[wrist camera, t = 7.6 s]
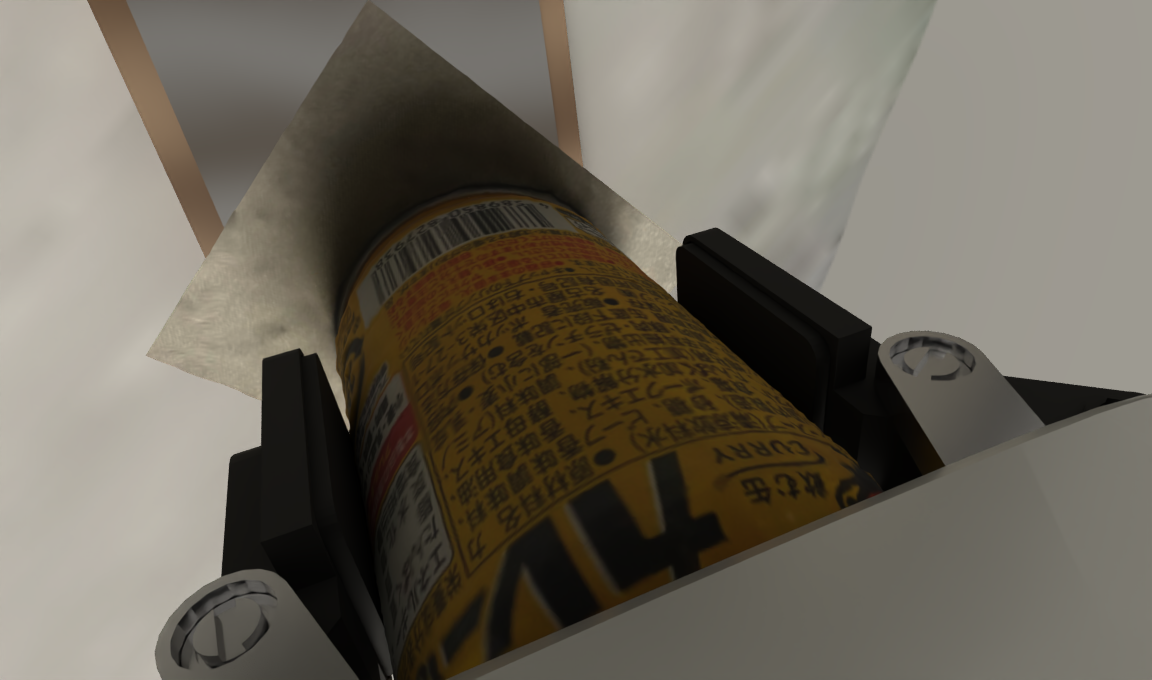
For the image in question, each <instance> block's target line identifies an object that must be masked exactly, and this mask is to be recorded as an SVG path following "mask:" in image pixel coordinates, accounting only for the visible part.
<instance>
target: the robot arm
mask: <svg viewBox="0 0 1152 680" xmlns="http://www.w3.org/2000/svg"><path fill="white" fill-rule="evenodd" d="M676 277H677V297H678V303H679V304H680V305H682V306H683V307H684V308H685V309H686V310H687V311H688V312H689V313H690V314H691V315H692V316H693V317H694V318H696V319H697V320H699V321H700V323H702V324H703V325H704V326H705V328H707V329H708V330H709V331H710V332H711V333H712V334H713V335H715V336H716V337H717V338H718V339H719V340H720V341H721V342H722V343H723V344H725V345H726V346H727V347H728V348H729V349H730V350H731V351H732V352H733V353H734V354H736V355H737V356H738V357H739V358H740V359H742V360H743V361H744V362H745V363H746V364H747V365H748V366H749V367H750V368H751V369H752V370H753V371H754V372H756V373H757V374H758V375H759V376H760V377H761V378H762V379H763V380H765V381H766V382H767V383H768V384H769V385H770V386H771V387H773V388H774V389H775V390H777V391H778V392H780V393H781V395H782V396H783V397H784V398H785V399H786V400H788V401H789V402H790V403H792V405H793V406H794V407H795V408H796V409H797V410H798V411H800V412H802V413H803V414H804V415H805V417H806V418H807V419H808V420H809V421H810V422H812V423H814V424H815V425H816V426H817V427H818V428H819V429H820V430H821V431H822V432H823V434H824V435H826V436H828V437H830V438H831V440H832V441H833V442H834V443H836V444H837V445H839V446H841V447H842V448H843V449H845V450H846V452H847V453H848V454H849V455H850V456H851V457H852V458H853V459H854V460H856V461H857V462H858V465H859V467H860V468H861V469H862V470H864V471H866V472H868V473H870V474H871V475H872V477H873V478H874V479H875V481H876V482H877V483H878V485H879V486H880V488H881V489H882V490H883V491H884V492H883V493H880V494H878V495H876V496H873V497H871V498H868V499H866V500H864V501H861V502H859V503H856V504H854V505H852V506H849V507H847V508H844V509H842V510H840V511H837V512H835V513H833V514H830V515H828V516H825V517H823V518H821V519H818V520H816V521H814V522H811V523H809V524H807V525H804V526H802V527H800V528H797V529H795V530H793V531H790V532H788V533H785V534H783V535H781V536H778V537H776V538H774V539H771V540H769V541H767V542H764V543H762V544H760V545H757V546H755V547H752V548H750V549H748V550H745V551H743V552H741V553H738V554H736V555H734V556H731V557H729V558H727V559H724V560H722V561H720V562H717V563H715V564H713V565H710V566H708V567H706V568H703V569H701V570H699V571H696V572H694V573H692V574H689V575H687V576H684V577H682V578H680V579H677V580H675V581H673V582H670V583H668V584H666V585H663V586H661V587H659V588H656V589H654V590H652V591H649V592H647V593H645V594H642V595H640V596H638V597H635V598H633V599H631V600H628V601H626V602H624V603H622V604H619V605H617V606H615V607H612V608H610V609H608V610H605V611H603V612H601V613H598V614H596V615H594V616H591V617H589V618H587V619H584V620H582V621H580V622H578V623H575V624H573V625H571V626H568V627H566V628H564V629H561V630H559V631H557V632H554V633H552V634H550V635H547V636H545V637H543V638H541V639H538V640H536V641H534V642H531V643H529V644H527V645H524V646H522V647H520V648H517V649H515V650H513V651H510V652H508V653H506V654H504V655H501V656H499V657H497V658H494V659H492V660H490V661H487V662H485V663H483V664H480V665H478V666H476V667H473V668H471V669H469V670H467V671H464V672H462V673H460V674H457V675H455V676H453V677H451V678H449V679H446V680H1152V394H1148V395H1146V394H1142V393H1136V392H1127V391H1119V390H1111V389H1103V388H1096V387H1088V386H1080V385H1072V384H1063V383H1055V382H1047V381H1039V380H1032V379H1024V378H1016V377H1008V376H1003V375H1002V374H1001V373H1000V372H999V371H998V370H997V368H996V367H995V366H994V365H993V364H992V363H991V362H990V360H989V359H988V358H987V357H986V356H985V355H984V353H983V352H981V351H980V350H979V349H978V348H977V347H976V346H974V345H973V344H971V343H969V342H967V341H965V340H963V339H961V338H959V337H955V336H952V335H949V334H945V333H939V332H932V331H910V332H904V333H899V334H896V335H894V336H892V337H889V338H887V339H886V340H885V341H884V342H883V343H882V344H880V343H878V342H877V341H875V340H874V339H872V338H871V332H872V327H871V326H870V325H868V324H867V323H865V322H864V321H862V320H861V319H859V318H857V317H856V316H854V315H853V314H851V313H850V312H848V311H847V310H845V309H843V308H842V307H840V306H839V305H837V304H835V303H834V302H832V301H831V300H829V299H828V298H826V297H824V296H823V295H822V294H820V293H818V292H817V291H815V290H814V289H812V288H811V287H809V286H808V285H806V284H804V283H803V282H801V281H800V280H798V279H797V278H795V277H794V276H792V275H790V274H789V273H787V272H786V271H784V270H783V269H781V268H779V267H778V266H776V265H775V264H773V263H772V262H770V261H769V260H767V259H765V258H764V257H762V256H761V255H759V254H758V253H756V252H755V251H753V250H751V249H750V248H748V247H747V246H745V245H744V244H742V243H741V242H739V241H737V240H736V239H734V238H733V237H731V236H730V235H728V234H726V233H725V232H723V231H722V230H720V229H718V228H712V229H709V230H705V231H702V232H698V233H695V234H692V235H688V236H686V237H685V238H684V241H683V245H682V246H679V247H678V248H677V249H676ZM352 446H353V442H352V441H351V439H350V435H349V432H348V429H347V427H346V424H345V422H344V419H343V417H342V414H341V411H340V409H339V406H338V404H337V401H336V399H335V396H334V394H333V391H332V389H331V386H330V384H329V381H328V378H327V376H326V373H325V371H324V368H323V366H322V363H321V361H320V358H319V356H318V354H317V353H313V354H310V355H306V356H304V354H303V352H302V350H301V349H300V348H298V349H294V350H291V351H287V352H284V353H280V354H277V355H274V356H270V357H267V358H263V360H262V422H261V446H259V447H256V448H253V449H250V450H246V451H243V452H240V453H237V454H234V455H233V456H232V457H231V458H230V463H229V475H228V489H227V504H226V518H225V532H224V546H223V560H222V574H221V577H220V578H218V579H217V580H215V581H213V582H211V583H209V584H207V585H205V586H203V587H202V588H201V589H199V590H198V591H197V592H195V593H194V594H193V595H191V596H190V597H189V598H187V599H186V600H185V601H184V602H183V603H182V604H181V605H180V606H179V607H178V609H177V610H176V611H175V612H174V613H173V614H172V615H171V616H170V617H169V619H168V621H167V622H166V624H165V626H164V628H163V629H162V631H161V633H160V634H159V637H158V641H157V645H156V649H155V659H156V665H157V669H158V672H159V674H160V676H161V678H162V680H392V676H391V675H392V674H393V670H392V666H391V660H390V653H389V650H388V644H387V641H386V637H385V625H384V623H383V615H382V613H381V603H380V597H379V592H378V587H377V584H376V575H375V572H374V560H373V557H372V551H371V544H370V541H369V534H368V528H367V522H366V514H365V508H364V503H363V499H362V495H361V486H360V480H359V475H358V472H357V468H356V465H355V461H354V454H353V449H352Z"/></svg>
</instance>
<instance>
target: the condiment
mask: <svg viewBox="0 0 1152 680" xmlns="http://www.w3.org/2000/svg"><path fill="white" fill-rule="evenodd" d="M679 246H682V244H681V243H680V242H678V241H677V240H676V239H674V238H673V237H672V236H671V235H669V234H668V233H667V232H665V231H664V230H663V229H662V228H660V227H659V226H658V225H656V224H655V223H654V222H653V221H651V220H650V219H649V218H647V217H646V216H645V215H644V214H642V213H641V212H640V211H638V210H637V209H636V208H634V207H633V206H632V205H631V204H629V203H628V202H627V201H626V200H624V199H623V198H622V197H621V196H619V195H618V194H617V193H615V192H614V191H613V190H612V189H610V188H609V187H608V186H607V185H605V184H604V183H603V182H602V181H600V180H599V179H597V178H596V177H595V176H594V175H592V174H591V173H590V172H589V171H587V170H586V169H585V168H583V167H582V166H581V165H580V164H578V163H577V162H576V161H574V160H573V159H572V158H571V157H569V156H568V155H567V154H566V153H564V152H563V151H562V150H561V149H560V148H559V147H557V146H555V145H554V144H553V143H551V142H550V141H549V140H548V139H546V138H545V137H544V136H543V135H541V134H540V133H539V132H537V131H536V130H535V129H534V128H532V127H531V126H530V125H528V124H527V123H525V122H524V121H523V120H522V119H520V118H519V117H518V116H517V115H516V114H514V113H513V112H512V111H510V110H509V109H508V108H507V107H505V106H504V105H503V104H502V103H500V102H499V101H498V100H497V99H496V98H494V97H493V96H492V95H490V94H489V93H487V92H486V91H485V90H484V89H482V88H481V87H480V86H478V85H477V84H476V83H475V82H474V81H472V80H471V79H470V78H469V77H468V76H466V75H465V74H463V73H462V72H461V71H459V70H458V69H457V68H455V67H454V66H453V65H452V64H450V63H449V62H448V61H446V60H445V59H444V58H443V57H441V56H440V55H439V54H437V53H436V52H435V51H433V50H432V49H431V48H430V47H428V46H427V45H426V44H425V43H423V42H422V41H421V40H420V39H418V38H417V37H416V36H415V35H413V34H412V33H411V32H409V31H408V30H407V29H406V28H404V27H403V26H402V25H400V24H399V23H398V22H397V21H395V20H394V19H393V18H391V17H390V16H389V15H388V14H386V13H385V12H384V11H383V10H381V9H380V8H379V7H377V6H376V5H375V4H374V3H372V2H371V1H370V0H368V1H367V2H366V3H365V5H364V6H363V8H362V10H361V11H360V13H359V14H358V16H357V17H356V19H355V21H354V22H353V24H352V25H351V27H350V28H349V30H348V32H347V33H346V35H345V37H344V39H343V41H342V43H341V44H340V45H339V46H338V47H337V49H336V50H335V52H334V53H333V55H332V56H331V58H330V59H329V61H328V63H327V64H326V66H325V68H324V69H323V71H322V72H321V74H320V76H319V77H318V79H317V80H316V82H315V83H314V85H313V86H312V88H311V90H310V91H309V93H308V95H307V96H306V98H305V99H304V101H303V102H302V104H301V106H300V107H299V109H298V111H297V112H296V114H295V116H294V118H293V120H292V121H291V123H290V124H289V125H288V127H287V128H286V130H285V131H284V132H283V134H282V135H281V137H280V139H279V141H278V142H277V144H276V145H275V147H274V149H273V150H272V152H271V154H270V156H269V157H268V159H267V160H266V162H265V163H264V165H263V166H262V168H261V170H260V171H259V173H258V175H257V176H256V178H255V179H254V181H253V183H252V184H251V186H250V188H249V189H248V191H247V192H246V194H245V196H244V197H243V199H242V200H241V202H240V204H239V205H238V207H237V208H236V209H235V210H234V211H233V213H232V215H231V216H230V218H229V220H228V221H227V224H226V226H225V228H224V229H223V231H222V233H221V234H220V236H219V238H218V239H217V241H216V243H215V244H214V246H213V248H212V250H211V252H210V254H209V255H208V256H207V257H206V259H205V261H204V262H203V264H202V266H201V267H200V269H199V270H198V272H197V273H196V275H195V276H194V278H193V280H192V281H191V283H190V284H189V286H188V288H187V289H186V291H185V292H184V294H183V295H182V297H181V299H180V301H179V303H178V304H177V306H176V308H175V309H174V311H173V313H172V314H171V316H170V317H169V319H168V321H167V322H166V324H165V326H164V327H163V329H162V330H161V332H160V334H159V335H158V337H157V338H156V340H155V342H154V343H153V345H152V347H151V348H150V350H149V351H148V353H147V355H146V356H148V357H150V358H153V359H155V360H158V361H161V362H163V363H166V364H169V365H172V366H174V367H177V368H179V369H181V370H183V371H185V372H187V373H190V374H193V375H195V376H198V377H201V378H204V379H207V380H210V381H213V382H217V383H221V384H224V385H226V386H229V387H231V388H234V389H236V390H239V391H240V392H242V393H244V394H246V395H248V396H251V397H253V398H256V399H259V400H262V360H263V358H267V357H270V356H274V355H277V354H280V353H284V352H287V351H291V350H294V349H298V348H300V349H301V350H302V352H303V354H304V356H306V355H310V354H313V353H317V354H318V356H319V358H320V361H321V363H322V366H323V368H324V371H325V373H326V376H327V378H328V381H329V384H330V386H331V389H332V391H333V394H334V396H335V399H336V401H337V404H338V406H339V409H340V411H341V414H342V417H343V419H344V422H345V424H346V427H347V429H348V431H349V435H350V439H351V441H352V442H353V446H352V449H353V454H354V461H355V465H356V468H357V472H358V475H359V480H360V486H361V495H362V499H363V503H364V508H365V514H366V522H367V528H368V534H369V541H370V544H371V551H372V557H373V560H374V572H375V575H376V584H377V587H378V592H379V597H380V603H381V613H382V615H383V623H384V625H385V637H386V641H387V644H388V650H389V653H390V660H391V666H392V670H393V677H394V680H446V679H449V678H451V677H453V676H455V675H457V674H460V673H462V672H464V671H467V670H469V669H471V668H473V667H476V666H478V665H480V664H483V663H485V662H487V661H490V660H492V659H494V658H497V657H499V656H501V655H504V654H506V653H508V652H510V651H513V650H515V649H517V648H520V647H522V646H524V645H527V644H529V643H531V642H534V641H536V640H538V639H541V638H543V637H545V636H547V635H550V634H552V633H554V632H557V631H559V630H561V629H564V628H566V627H568V626H571V625H573V624H575V623H578V622H580V621H582V620H584V619H587V618H589V617H591V616H594V615H596V614H598V613H601V612H603V611H605V610H608V609H610V608H612V607H615V606H617V605H619V604H622V603H624V602H626V601H628V600H631V599H633V598H635V597H638V596H640V595H642V594H645V593H647V592H649V591H652V590H654V589H656V588H659V587H661V586H663V585H666V584H668V583H670V582H673V581H675V580H677V579H680V578H682V577H684V576H687V575H689V574H692V573H694V572H696V571H699V570H701V569H703V568H706V567H708V566H710V565H713V564H715V563H717V562H720V561H722V560H724V559H727V558H729V557H731V556H734V555H736V554H738V553H741V552H743V551H745V550H748V549H750V548H752V547H755V546H757V545H760V544H762V543H764V542H767V541H769V540H771V539H774V538H776V537H778V536H781V535H783V534H785V533H788V532H790V531H793V530H795V529H797V528H800V527H802V526H804V525H807V524H809V523H811V522H814V521H816V520H818V519H821V518H823V517H825V516H828V515H830V514H833V513H835V512H837V511H840V510H842V509H844V508H847V507H849V506H852V505H854V504H856V503H859V502H861V501H864V500H866V499H868V498H871V497H873V496H876V495H878V494H880V493H883V492H884V491H883V490H882V489H881V488H880V486H879V485H878V483H877V482H876V481H875V479H874V478H873V477H872V475H871V474H870V473H868V472H866V471H864V470H862V469H861V468H860V467H859V465H858V462H857V461H856V460H854V459H853V458H852V457H851V456H850V455H849V454H848V453H847V452H846V450H845V449H843V448H842V447H841V446H839V445H837V444H836V443H834V442H833V441H832V440H831V438H830V437H828V436H826V435H824V434H823V432H822V431H821V430H820V429H819V428H818V427H817V426H816V425H815V424H814V423H812V422H810V421H809V420H808V419H807V418H806V417H805V415H804V414H803V413H802V412H800V411H798V410H797V409H796V408H795V407H794V406H793V405H792V403H790V402H789V401H788V400H786V399H785V398H784V397H783V396H782V395H781V393H780V392H778V391H777V390H775V389H774V388H773V387H771V386H770V385H769V384H768V383H767V382H766V381H765V380H763V379H762V378H761V377H760V376H759V375H758V374H757V373H756V372H754V371H753V370H752V369H751V368H750V367H749V366H748V365H747V364H746V363H745V362H744V361H743V360H742V359H740V358H739V357H738V356H737V355H736V354H734V353H733V352H732V351H731V350H730V349H729V348H728V347H727V346H726V345H725V344H723V343H722V342H721V341H720V340H719V339H718V338H717V337H716V336H715V335H713V334H712V333H711V332H710V331H709V330H708V329H707V328H705V326H704V325H703V324H702V323H700V321H699V320H697V319H696V318H694V317H693V316H692V315H691V314H690V313H689V312H688V311H687V310H686V309H685V308H684V307H683V306H682V305H680V304H679V303H678V302H677V301H676V300H675V299H674V298H673V297H672V296H671V295H670V294H669V293H670V292H671V291H672V289H673V288H674V287H675V286H676V284H677V277H676V249H677V248H678V247H679Z"/></svg>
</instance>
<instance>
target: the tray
mask: <svg viewBox="0 0 1152 680" xmlns="http://www.w3.org/2000/svg"><path fill="white" fill-rule="evenodd" d="M87 1H88V3H89V5H90V7H91V9H92V12H93V14H94V16H95V18H96V20H97V23H98V25H99V27H100V29H101V31H102V33H103V36H104V38H105V40H106V42H107V44H108V46H109V49H110V51H111V53H112V55H113V57H114V60H115V62H116V64H117V66H118V68H119V70H120V73H121V75H122V77H123V79H124V81H125V84H126V86H127V88H128V90H129V92H130V94H131V97H132V99H133V101H134V103H135V105H136V107H137V110H138V112H139V114H140V116H141V118H142V121H143V123H144V125H145V127H146V129H147V131H148V134H149V136H150V138H151V140H152V142H153V144H154V147H155V149H156V151H157V153H158V155H159V158H160V160H161V162H162V164H163V166H164V168H165V171H166V173H167V175H168V177H169V179H170V182H171V184H172V186H173V188H174V190H175V192H176V195H177V197H178V199H179V201H180V203H181V205H182V208H183V210H184V212H185V214H186V216H187V219H188V221H189V223H190V225H191V227H192V229H193V232H194V234H195V236H196V238H197V240H198V243H199V245H200V247H201V249H202V251H203V253H204V256H205V258H206V257H207V256H208V255H209V254H210V252H211V250H212V248H213V246H214V244H215V243H216V241H217V239H218V238H219V236H220V234H221V233H222V231H223V229H224V228H225V226H226V224H227V221H228V220H229V218H230V216H231V215H232V213H233V211H234V210H235V209H236V208H237V207H238V205H239V204H240V202H241V200H242V199H243V197H244V196H245V194H246V192H247V191H248V189H249V188H250V186H251V184H252V183H253V181H254V179H255V178H256V176H257V175H258V173H259V171H260V170H261V168H262V166H263V165H264V163H265V162H266V160H267V159H268V157H269V156H270V154H271V152H272V150H273V149H274V147H275V145H276V144H277V142H278V141H279V139H280V137H281V135H282V134H283V132H284V131H285V130H286V128H287V127H288V125H289V124H290V123H291V121H292V120H293V118H294V116H295V114H296V112H297V111H298V109H299V107H300V106H301V104H302V102H303V101H304V99H305V98H306V96H307V95H308V93H309V91H310V90H311V88H312V86H313V85H314V83H315V82H316V80H317V79H318V77H319V76H320V74H321V72H322V71H323V69H324V68H325V66H326V64H327V63H328V61H329V59H330V58H331V56H332V55H333V53H334V52H335V50H336V49H337V47H338V46H339V45H340V44H341V43H342V41H343V39H344V37H345V35H346V33H347V32H348V30H349V28H350V27H351V25H352V24H353V22H354V21H355V19H356V17H357V16H358V14H359V13H360V11H361V10H362V8H363V6H364V5H365V3H366V2H367V1H368V0H87ZM370 1H371V2H372V3H374V4H375V5H376V6H377V7H379V8H380V9H381V10H383V11H384V12H385V13H386V14H388V15H389V16H390V17H391V18H393V19H394V20H395V21H397V22H398V23H399V24H400V25H402V26H403V27H404V28H406V29H407V30H408V31H409V32H411V33H412V34H413V35H415V36H416V37H417V38H418V39H420V40H421V41H422V42H423V43H425V44H426V45H427V46H428V47H430V48H431V49H432V50H433V51H435V52H436V53H437V54H439V55H440V56H441V57H443V58H444V59H445V60H446V61H448V62H449V63H450V64H452V65H453V66H454V67H455V68H457V69H458V70H459V71H461V72H462V73H463V74H465V75H466V76H468V77H469V78H470V79H471V80H472V81H474V82H475V83H476V84H477V85H478V86H480V87H481V88H482V89H484V90H485V91H486V92H487V93H489V94H490V95H492V96H493V97H494V98H496V99H497V100H498V101H499V102H500V103H502V104H503V105H504V106H505V107H507V108H508V109H509V110H510V111H512V112H513V113H514V114H516V115H517V116H518V117H519V118H520V119H522V120H523V121H524V122H525V123H527V124H528V125H530V126H531V127H532V128H534V129H535V130H536V131H537V132H539V133H540V134H541V135H543V136H544V137H545V138H546V139H548V140H549V141H550V142H551V143H553V144H554V145H555V146H557V147H559V148H560V149H561V150H562V151H563V152H564V153H566V154H567V155H568V156H569V157H571V158H572V159H573V160H574V161H576V162H577V163H578V164H580V165H581V166H582V167H583V163H582V154H581V146H580V138H579V129H578V121H577V113H576V104H575V96H574V87H573V79H572V71H571V62H570V54H569V46H568V37H567V29H566V20H565V12H564V4H563V0H370Z"/></svg>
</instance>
